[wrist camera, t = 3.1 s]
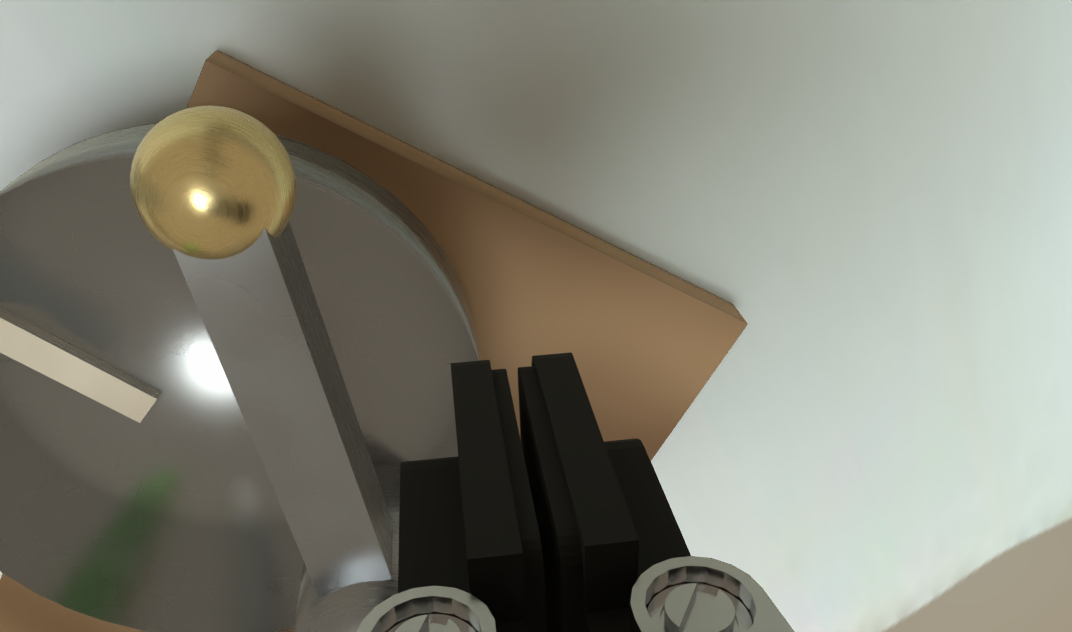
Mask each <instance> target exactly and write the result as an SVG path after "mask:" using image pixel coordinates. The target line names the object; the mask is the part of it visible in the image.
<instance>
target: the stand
mask: <svg viewBox="0 0 1072 632" xmlns="http://www.w3.org/2000/svg"><path fill="white" fill-rule="evenodd" d="M197 106H222V107H227V108H232V109H235V110H238V111H241V112H243V113H245V114H248V115H250V116H252V117H253V118H255V119H257V120H258V121H260V122H261V123H263V124H264V125H265V126H266V127H268V128H269V129H270V130H271V131H272V132H273V133H274V134H278V135H281V136H284V137H287V138H290V139H294V140H297V141H300V142H303V143H306V144H308V145H310V146H313V147H315V148H317V149H319V150H322V151H324V152H326V153H328V154H330V155H333V156H335V157H337V158H339V159H341V160H343V161H344V162H346V163H348V164H349V165H351V166H353V167H354V168H356V169H358V170H359V171H361V172H363V173H364V174H366V175H368V176H369V177H371V178H372V179H374V180H375V181H376V182H378V183H379V184H380V185H381V186H383V187H384V188H385V189H386V190H388V191H389V192H390V193H391V194H393V195H394V196H395V197H397V198H398V199H399V200H400V201H401V202H402V203H403V204H404V205H405V206H406V207H407V208H408V209H409V210H410V211H411V212H412V213H413V214H414V215H415V216H416V217H417V218H418V219H419V220H420V221H421V222H422V223H423V224H424V225H425V226H426V228H427V229H428V230H429V232H430V233H431V234H432V236H433V237H434V238H435V240H436V241H437V242H438V244H439V245H440V246H441V248H442V249H443V250H444V252H445V254H446V255H447V257H448V259H449V261H450V263H451V264H452V266H453V268H454V270H455V271H456V273H457V275H458V277H459V279H460V281H461V284H462V286H463V289H464V291H465V294H466V297H467V299H468V302H469V304H470V307H471V311H472V316H473V320H474V325H475V329H476V334H477V339H478V346H479V353H480V360H490V365H491V370H495V369H506V371H507V376H508V381H509V385H510V390H511V395H512V400H513V405H514V410H515V415H516V420H517V425H518V430H519V435H520V414H519V393H518V367H528V366H532V365H531V364H532V356H536V355H547V354H558V353H569V352H571V353H572V354H573V357H574V359H575V362H576V365H577V368H578V371H579V373H580V376H581V379H582V382H583V385H584V387H585V390H586V393H587V396H588V399H589V401H590V404H591V407H592V410H593V413H594V415H595V418H596V421H597V424H598V427H599V429H600V432H601V435H602V438H603V441H604V442H605V441H615V440H625V439H635V438H638V439H640V440H641V442H642V443H643V445H644V447H645V449H646V452H647V454H648V457H649V459H650V461H651V460H652V459H653V457H654V456H655V454H656V453H657V451H658V450H659V449H660V447H661V446H662V444H663V443H664V442H665V440H666V439H667V437H668V436H669V435H670V433H671V432H672V430H673V429H674V427H675V426H676V425H677V423H678V422H679V420H680V419H681V418H682V416H683V415H684V413H685V412H686V411H687V409H688V408H689V406H690V405H691V403H692V402H693V401H694V399H695V398H696V396H697V395H698V394H699V392H700V391H701V389H702V388H703V387H704V385H705V384H706V382H707V381H708V380H709V378H710V377H711V375H712V374H713V372H714V371H715V370H716V368H717V367H718V365H719V364H720V363H721V361H722V360H723V358H724V357H725V356H726V354H727V353H728V351H729V350H730V348H731V347H732V346H733V344H734V343H735V341H736V340H737V339H738V337H739V336H740V334H741V333H742V332H743V330H744V329H745V327H746V326H747V322H746V321H745V320H744V318H743V317H742V316H741V314H740V313H739V312H738V310H737V309H736V308H735V306H734V305H733V304H731V303H729V302H727V301H725V300H723V299H721V298H719V297H717V296H715V295H713V294H711V293H709V292H707V291H705V290H702V289H700V288H698V287H696V286H694V285H692V284H690V283H688V282H686V281H684V280H682V279H680V278H678V277H676V276H674V275H672V274H670V273H668V272H666V271H664V270H662V269H660V268H658V267H656V266H654V265H652V264H650V263H648V262H646V261H644V260H642V259H639V258H637V257H635V256H633V255H631V254H629V253H627V252H625V251H623V250H621V249H619V248H617V247H615V246H613V245H611V244H609V243H607V242H605V241H603V240H601V239H599V238H597V237H595V236H593V235H591V234H589V233H587V232H585V231H583V230H581V229H579V228H576V227H574V226H572V225H570V224H568V223H566V222H564V221H562V220H560V219H558V218H556V217H554V216H552V215H550V214H548V213H546V212H544V211H542V210H540V209H538V208H536V207H534V206H532V205H530V204H528V203H526V202H524V201H522V200H520V199H518V198H516V197H513V196H511V195H509V194H507V193H505V192H503V191H501V190H499V189H497V188H495V187H493V186H491V185H489V184H487V183H485V182H483V181H481V180H479V179H477V178H475V177H473V176H471V175H469V174H467V173H465V172H463V171H461V170H459V169H457V168H455V167H453V166H450V165H448V164H446V163H444V162H442V161H440V160H438V159H436V158H434V157H432V156H430V155H428V154H426V153H424V152H422V151H420V150H418V149H416V148H414V147H412V146H410V145H408V144H406V143H404V142H402V141H400V140H398V139H396V138H394V137H392V136H390V135H387V134H385V133H383V132H381V131H379V130H377V129H375V128H373V127H371V126H369V125H367V124H365V123H363V122H361V121H359V120H357V119H355V118H353V117H351V116H349V115H347V114H345V113H343V112H341V111H339V110H337V109H335V108H333V107H331V106H329V105H327V104H324V103H322V102H320V101H318V100H316V99H314V98H312V97H310V96H308V95H306V94H304V93H302V92H300V91H298V90H296V89H294V88H292V87H290V86H288V85H286V84H284V83H282V82H280V81H278V80H276V79H274V78H272V77H270V76H268V75H266V74H263V73H261V72H259V71H257V70H255V69H253V68H251V67H249V66H247V65H245V64H243V63H241V62H239V61H237V60H235V59H233V58H231V57H229V56H227V55H225V54H223V53H221V52H219V51H217V50H216V51H215V52H214V53H213V54H212V55H211V56H210V57H209V58H208V59H207V60H206V61H205V63H204V66H203V68H202V71H201V73H200V76H199V78H198V81H197V83H196V86H195V89H194V91H193V94H192V96H191V99H190V101H189V104H188V106H187V108H192V107H197ZM520 440H521V435H520ZM0 632H152V631H146V630H139V629H134V628H130V627H126V626H122V625H118V624H114V623H110V622H106V621H103V620H100V619H97V618H94V617H91V616H88V615H85V614H83V613H80V612H77V611H74V610H71V609H69V608H67V607H64V606H62V605H60V604H58V603H56V602H54V601H51V600H49V599H47V598H45V597H43V596H41V595H38V594H37V593H35V592H33V591H31V590H30V589H28V588H26V587H25V586H23V585H21V584H20V583H18V582H16V581H15V580H13V579H11V578H10V577H8V576H6V575H5V574H4V573H3V575H2V577H1V580H0Z"/></svg>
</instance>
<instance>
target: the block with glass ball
mask: <svg viewBox="0 0 1072 632" xmlns="http://www.w3.org/2000/svg"><path fill="white" fill-rule="evenodd" d="M273 632H294V627H291V628H286V629H282V630H277V631H273Z"/></svg>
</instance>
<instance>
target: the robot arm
mask: <svg viewBox="0 0 1072 632" xmlns="http://www.w3.org/2000/svg"><path fill="white" fill-rule="evenodd" d="M450 364H451V376H452V388H453V399H454V411H455V423H456V435H457V447H458V456H456V457H446V458H436V459H426V460H416V461H406V462H401V466H400V508H399V560H398V594H395V595H393V596H391V597H390V598H388V599H386V600H385V601H383V602H382V603H380V604H378V605H377V606H375V607H374V609H373V610H372V611H371V612H370V613H369V614H368V615H367V616H366V617H365V618H364V619H363V620H362V622H361V624H360V626H359V628H358V630H357V632H794V630H793V629H792V628H791V626H790V625H789V624H788V622H787V621H786V619H785V618H784V617H783V615H782V614H781V613H780V611H779V610H778V609H777V607H776V606H775V605H774V603H773V602H772V600H771V599H770V598H769V596H768V595H767V594H766V592H765V591H764V590H763V588H762V587H761V586H760V585H759V584H758V583H757V582H756V581H755V580H754V579H753V578H752V577H751V576H750V575H749V574H747V573H745V572H744V571H742V570H740V569H738V568H737V567H735V566H733V565H732V564H728V563H725V562H722V561H719V560H716V559H713V558H705V557H695V556H691V555H690V552H689V550H688V548H687V545H686V543H685V541H684V538H683V536H682V534H681V531H680V529H679V527H678V524H677V522H676V520H675V517H674V515H673V513H672V510H671V508H670V506H669V503H668V501H667V499H666V496H665V494H664V492H663V489H662V487H661V485H660V482H659V480H658V478H657V475H656V473H655V471H654V468H653V466H652V464H651V461H650V459H649V457H648V454H647V452H646V449H645V447H644V445H643V443H642V442H641V440H640V439H638V438H635V439H625V440H615V441H605V442H604V441H603V438H602V435H601V432H600V429H599V427H598V424H597V421H596V418H595V415H594V413H593V410H592V407H591V404H590V401H589V399H588V396H587V393H586V390H585V387H584V385H583V382H582V379H581V376H580V373H579V371H578V368H577V365H576V362H575V359H574V357H573V354H572V353H571V352H569V353H558V354H547V355H536V356H532V364H531V365H532V366H528V367H518V393H519V414H520V435H521V440H520V435H519V430H518V425H517V420H516V415H515V410H514V405H513V400H512V395H511V390H510V385H509V381H508V376H507V371H506V369H495V370H491V365H490V360H480V361H469V362H458V363H450Z"/></svg>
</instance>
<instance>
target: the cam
mask: <svg viewBox="0 0 1072 632" xmlns="http://www.w3.org/2000/svg"><path fill="white" fill-rule="evenodd" d="M469 361H480V353H479V346H478V339H477V334H476V329H475V325H474V320H473V316H472V311H471V307H470V304H469V302H468V299H467V297H466V294H465V291H464V289H463V286H462V284H461V281H460V279H459V277H458V275H457V273H456V271H455V270H454V268H453V266H452V264H451V263H450V261H449V259H448V257H447V255H446V254H445V252H444V250H443V249H442V248H441V246H440V245H439V244H438V242H437V241H436V240H435V238H434V237H433V236H432V234H431V233H430V232H429V230H428V229H427V228H426V226H425V225H424V224H423V223H422V222H421V221H420V220H419V219H418V218H417V217H416V216H415V215H414V214H413V213H412V212H411V211H410V210H409V209H408V208H407V207H406V206H405V205H404V204H403V203H402V202H401V201H400V200H399V199H398V198H397V197H395V196H394V195H393V194H391V193H390V192H389V191H388V190H386V189H385V188H384V187H383V186H381V185H380V184H379V183H378V182H376V181H375V180H374V179H372V178H371V177H369V176H368V175H366V174H364V173H363V172H361V171H359V170H358V169H356V168H354V167H353V166H351V165H349V164H348V163H346V162H344V161H343V160H341V159H339V158H337V157H335V156H333V155H330V154H328V153H326V152H324V151H322V150H319V149H317V148H315V147H313V146H310V145H308V144H306V143H303V142H300V141H297V140H294V139H290V138H287V137H284V136H281V135H278V134H274V133H273V132H272V131H271V130H270V129H269V128H268V127H266V126H265V125H264V124H263V123H261V122H260V121H258V120H257V119H255V118H253V117H252V116H250V115H248V114H245V113H243V112H241V111H238V110H235V109H232V108H227V107H222V106H197V107H192V108H187V109H184V110H181V111H178V112H175V113H173V114H171V115H169V116H167V117H166V118H164V119H163V120H162V121H160V122H159V123H157V124H147V125H142V126H137V127H132V128H127V129H122V130H117V131H112V132H108V133H105V134H102V135H100V136H97V137H94V138H91V139H88V140H85V141H82V142H79V143H76V144H74V145H72V146H70V147H68V148H66V149H64V150H62V151H60V152H58V153H56V154H54V155H52V156H50V157H48V158H46V159H44V160H42V161H41V162H39V163H38V164H37V165H35V166H34V167H32V168H31V169H30V170H28V171H27V172H26V173H24V174H23V175H21V176H20V177H19V178H17V179H16V180H14V181H13V182H12V183H10V184H9V185H8V186H7V187H5V188H4V189H3V190H2V191H0V571H1V572H2V573H4V574H5V575H6V576H8V577H10V578H11V579H13V580H15V581H16V582H18V583H20V584H21V585H23V586H25V587H26V588H28V589H30V590H31V591H33V592H35V593H37V594H38V595H41V596H43V597H45V598H47V599H49V600H51V601H54V602H56V603H58V604H60V605H62V606H64V607H67V608H69V609H71V610H74V611H77V612H80V613H83V614H85V615H88V616H91V617H94V618H97V619H100V620H103V621H106V622H110V623H114V624H118V625H122V626H126V627H130V628H134V629H139V630H146V631H152V632H273V631H277V630H282V629H286V628H291V627H294V632H357V630H358V628H359V626H360V624H361V622H362V620H363V619H364V618H365V617H366V616H367V615H368V614H369V613H370V612H371V611H372V610H373V609H374V607H375V606H377V605H378V604H380V603H382V602H383V601H385V600H386V599H388V598H390V597H391V596H393V595H395V594H398V560H399V508H400V466H401V462H406V461H416V460H426V459H436V458H446V457H456V456H458V447H457V435H456V423H455V411H454V399H453V388H452V376H451V364H450V363H458V362H469Z"/></svg>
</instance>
